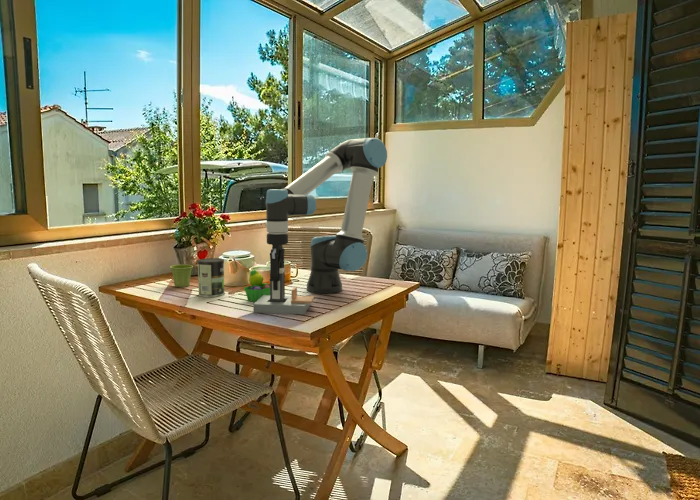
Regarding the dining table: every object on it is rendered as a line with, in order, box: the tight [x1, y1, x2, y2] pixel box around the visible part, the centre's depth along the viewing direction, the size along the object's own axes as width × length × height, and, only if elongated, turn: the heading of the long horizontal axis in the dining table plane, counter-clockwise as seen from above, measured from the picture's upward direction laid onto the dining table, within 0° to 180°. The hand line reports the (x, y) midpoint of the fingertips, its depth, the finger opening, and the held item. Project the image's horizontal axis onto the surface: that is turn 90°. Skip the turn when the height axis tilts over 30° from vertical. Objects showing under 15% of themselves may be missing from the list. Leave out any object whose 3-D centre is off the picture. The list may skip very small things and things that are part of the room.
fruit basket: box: [243, 269, 270, 303], centre depth 194 cm, size 11×9×11 cm
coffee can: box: [196, 257, 226, 298], centre depth 200 cm, size 10×10×14 cm
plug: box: [269, 267, 286, 302], centre depth 180 cm, size 5×5×12 cm
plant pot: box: [169, 264, 194, 288], centre depth 215 cm, size 9×9×9 cm
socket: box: [253, 295, 312, 315], centre depth 180 cm, size 14×18×3 cm
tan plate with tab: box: [291, 286, 315, 304], centre depth 179 cm, size 7×7×4 cm
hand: (277, 296), depth 180 cm, fingers closed on plug, 4 cm apart
